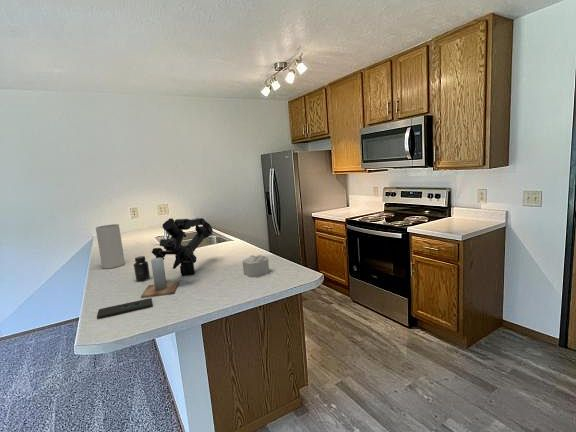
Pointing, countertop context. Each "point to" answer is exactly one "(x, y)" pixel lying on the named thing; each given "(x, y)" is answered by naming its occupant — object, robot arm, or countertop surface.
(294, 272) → the countertop surface
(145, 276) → the supplement bottle
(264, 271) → the lumpy-topped squat cylinder
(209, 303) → the countertop surface
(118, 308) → the smart home device
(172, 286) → the walnut board
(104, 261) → the cylinder vase
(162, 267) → the slate round-topped tapered cone
